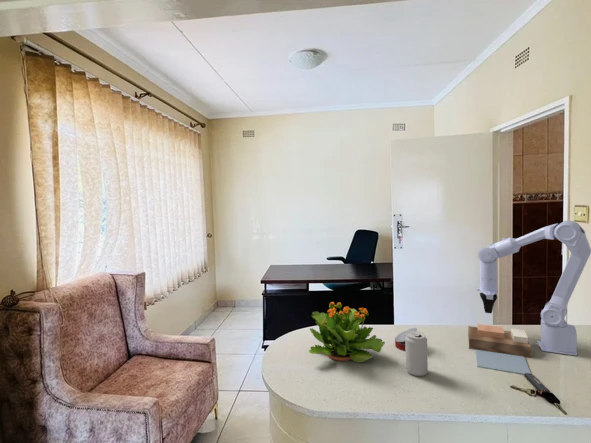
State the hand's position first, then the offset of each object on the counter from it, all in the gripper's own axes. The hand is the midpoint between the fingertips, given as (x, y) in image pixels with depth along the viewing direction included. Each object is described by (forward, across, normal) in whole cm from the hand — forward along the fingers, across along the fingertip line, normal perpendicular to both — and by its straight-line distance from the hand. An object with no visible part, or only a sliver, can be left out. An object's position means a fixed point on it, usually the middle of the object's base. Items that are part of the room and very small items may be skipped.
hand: (488, 312), depth 127 cm
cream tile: (+5, +10, +9) cm, 14 cm away
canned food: (+9, +22, -27) cm, 36 cm away
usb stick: (+9, +34, +10) cm, 36 cm away
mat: (+8, +23, +2) cm, 25 cm away
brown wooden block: (+8, +10, +2) cm, 13 cm away
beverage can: (+9, +39, -22) cm, 46 cm away
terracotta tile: (+5, +9, 0) cm, 10 cm away
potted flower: (+9, +37, -48) cm, 61 cm away
